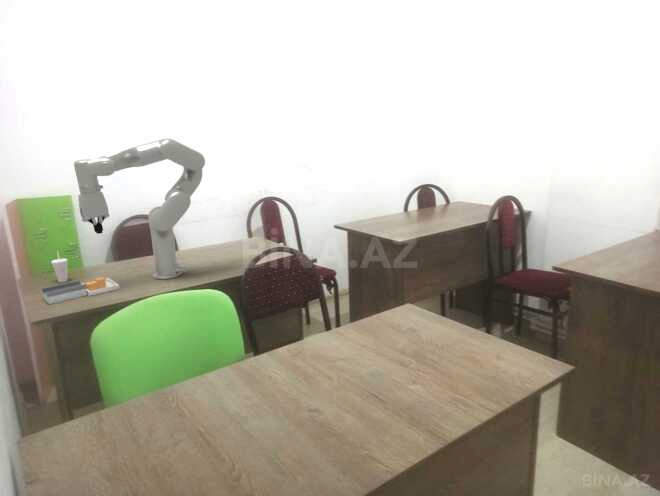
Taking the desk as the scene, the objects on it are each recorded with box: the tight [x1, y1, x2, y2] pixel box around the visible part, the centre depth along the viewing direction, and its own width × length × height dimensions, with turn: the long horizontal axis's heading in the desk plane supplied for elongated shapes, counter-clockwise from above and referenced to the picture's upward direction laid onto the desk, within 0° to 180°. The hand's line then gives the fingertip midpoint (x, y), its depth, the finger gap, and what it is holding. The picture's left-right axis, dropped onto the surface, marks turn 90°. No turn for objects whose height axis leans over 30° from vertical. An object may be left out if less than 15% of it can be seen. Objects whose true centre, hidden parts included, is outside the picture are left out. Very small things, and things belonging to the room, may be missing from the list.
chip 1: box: [84, 280, 99, 291], centre depth 202 cm, size 4×4×3 cm
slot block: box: [41, 279, 89, 305], centre depth 195 cm, size 14×10×4 cm
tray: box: [81, 277, 121, 297], centre depth 204 cm, size 12×14×2 cm
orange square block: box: [94, 276, 106, 289], centre depth 204 cm, size 4×4×3 cm
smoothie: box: [50, 250, 69, 283], centre depth 215 cm, size 6×6×14 cm
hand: (99, 232), depth 203 cm, fingers closed
